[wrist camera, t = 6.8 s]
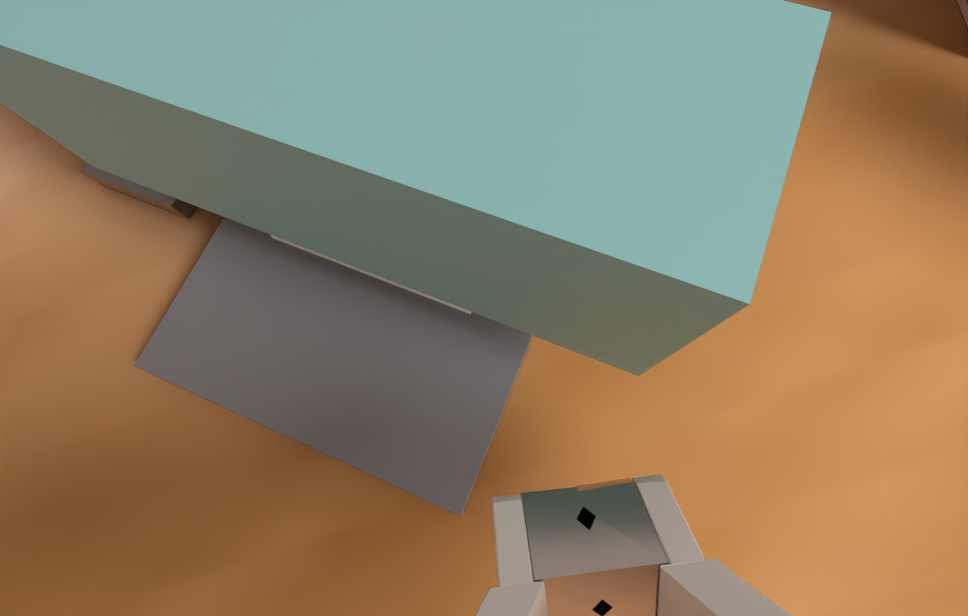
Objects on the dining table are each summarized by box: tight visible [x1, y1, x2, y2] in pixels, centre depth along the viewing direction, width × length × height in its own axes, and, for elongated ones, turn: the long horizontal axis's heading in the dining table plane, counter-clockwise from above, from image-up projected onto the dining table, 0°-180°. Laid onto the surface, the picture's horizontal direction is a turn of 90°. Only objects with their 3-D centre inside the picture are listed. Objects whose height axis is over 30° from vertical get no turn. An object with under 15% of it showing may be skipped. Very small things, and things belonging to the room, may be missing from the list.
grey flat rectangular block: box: [134, 217, 533, 516], centre depth 21 cm, size 18×14×1 cm
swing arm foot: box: [81, 163, 197, 219], centre depth 23 cm, size 5×5×1 cm
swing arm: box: [0, 0, 832, 376], centre depth 12 cm, size 24×6×17 cm, turn 67°
